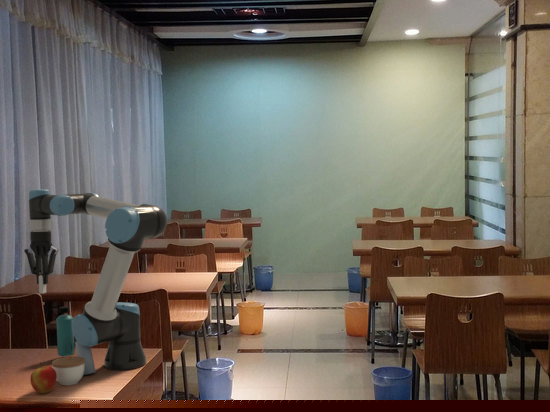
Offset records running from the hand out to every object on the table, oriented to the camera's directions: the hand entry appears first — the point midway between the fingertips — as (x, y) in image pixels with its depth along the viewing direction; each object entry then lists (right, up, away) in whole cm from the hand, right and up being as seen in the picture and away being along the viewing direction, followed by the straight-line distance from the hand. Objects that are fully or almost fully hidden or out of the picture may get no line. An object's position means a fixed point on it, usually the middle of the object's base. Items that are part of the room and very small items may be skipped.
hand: (42, 292), depth 274 cm
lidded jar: (+17, -28, -26) cm, 42 cm away
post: (+22, -27, -17) cm, 38 cm away
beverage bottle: (+7, -26, +7) cm, 28 cm away
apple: (+12, -29, -36) cm, 48 cm away
